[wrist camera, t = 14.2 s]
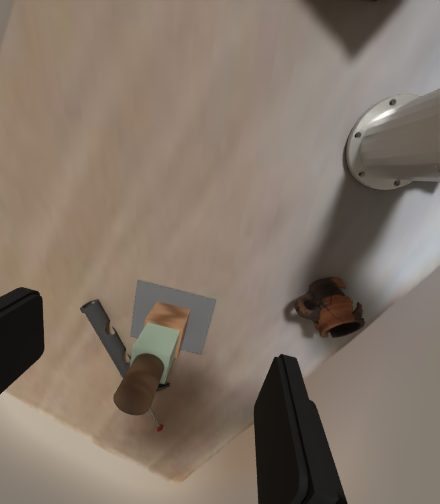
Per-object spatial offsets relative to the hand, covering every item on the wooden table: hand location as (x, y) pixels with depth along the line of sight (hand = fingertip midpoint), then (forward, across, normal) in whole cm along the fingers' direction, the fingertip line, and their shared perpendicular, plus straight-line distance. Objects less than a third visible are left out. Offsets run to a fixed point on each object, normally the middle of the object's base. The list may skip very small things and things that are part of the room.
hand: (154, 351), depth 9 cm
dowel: (+20, +5, +24) cm, 32 cm away
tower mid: (+26, +5, +24) cm, 36 cm away
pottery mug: (+33, -22, +11) cm, 41 cm away
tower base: (+32, +5, +24) cm, 40 cm away
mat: (+32, +5, +24) cm, 41 cm away
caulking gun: (+33, +10, +39) cm, 52 cm away
